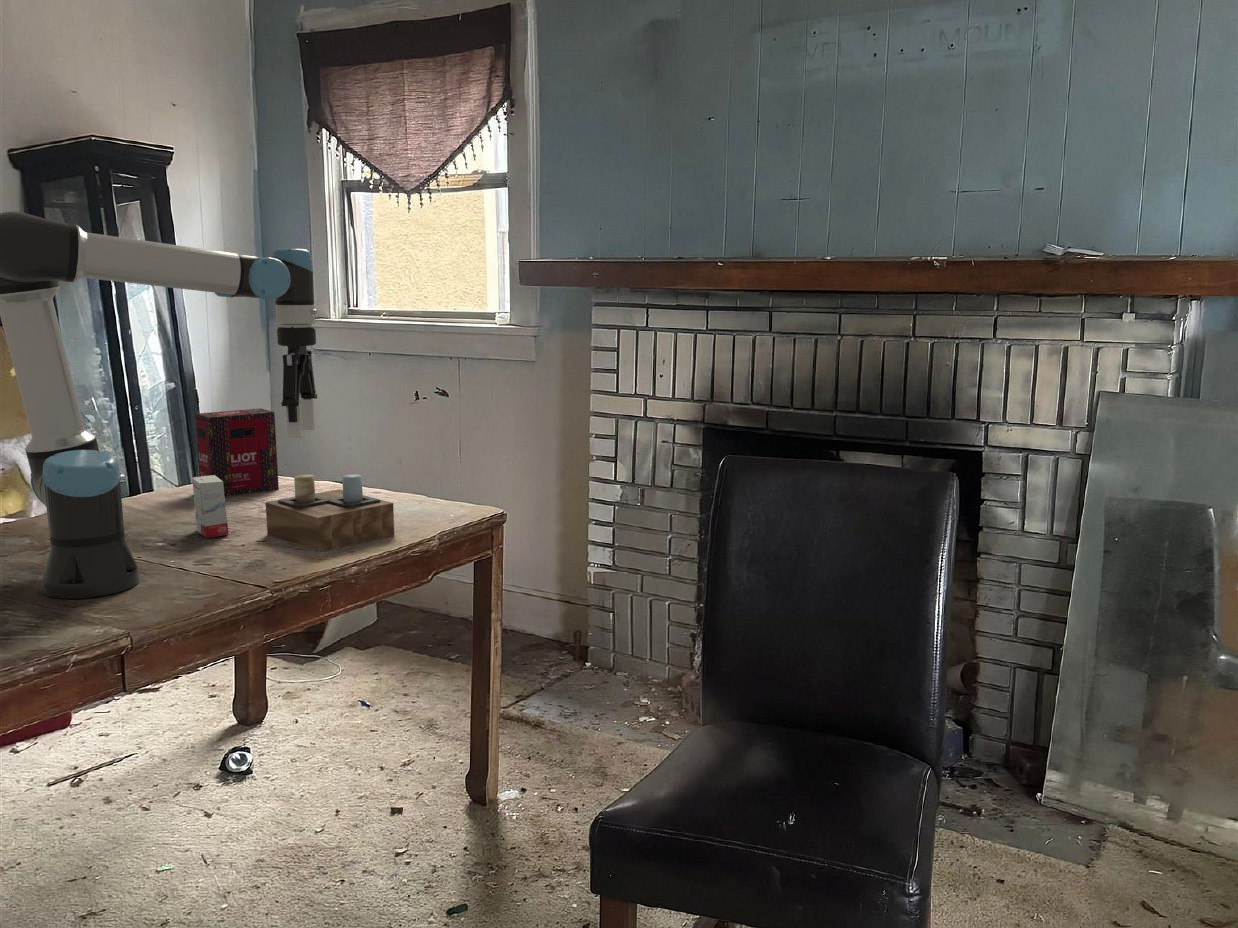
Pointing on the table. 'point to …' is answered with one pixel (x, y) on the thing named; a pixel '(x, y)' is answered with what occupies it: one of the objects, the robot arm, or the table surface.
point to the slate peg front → (352, 488)
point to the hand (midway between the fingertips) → (301, 433)
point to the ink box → (210, 506)
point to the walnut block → (329, 520)
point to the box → (238, 449)
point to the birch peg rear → (304, 488)
